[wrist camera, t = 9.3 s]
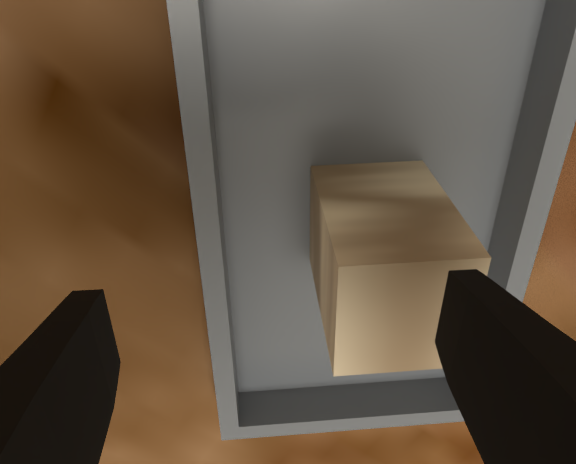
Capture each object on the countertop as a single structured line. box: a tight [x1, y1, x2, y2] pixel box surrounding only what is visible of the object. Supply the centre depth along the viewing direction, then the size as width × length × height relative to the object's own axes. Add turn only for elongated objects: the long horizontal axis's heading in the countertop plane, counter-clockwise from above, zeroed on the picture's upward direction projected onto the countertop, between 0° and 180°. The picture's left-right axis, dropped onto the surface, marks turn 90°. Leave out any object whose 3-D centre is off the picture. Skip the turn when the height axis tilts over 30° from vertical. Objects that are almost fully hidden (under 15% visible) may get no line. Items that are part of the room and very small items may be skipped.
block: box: [310, 160, 491, 377], centre depth 17 cm, size 4×4×6 cm
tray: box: [166, 0, 576, 440], centre depth 19 cm, size 12×20×2 cm, turn 1°
